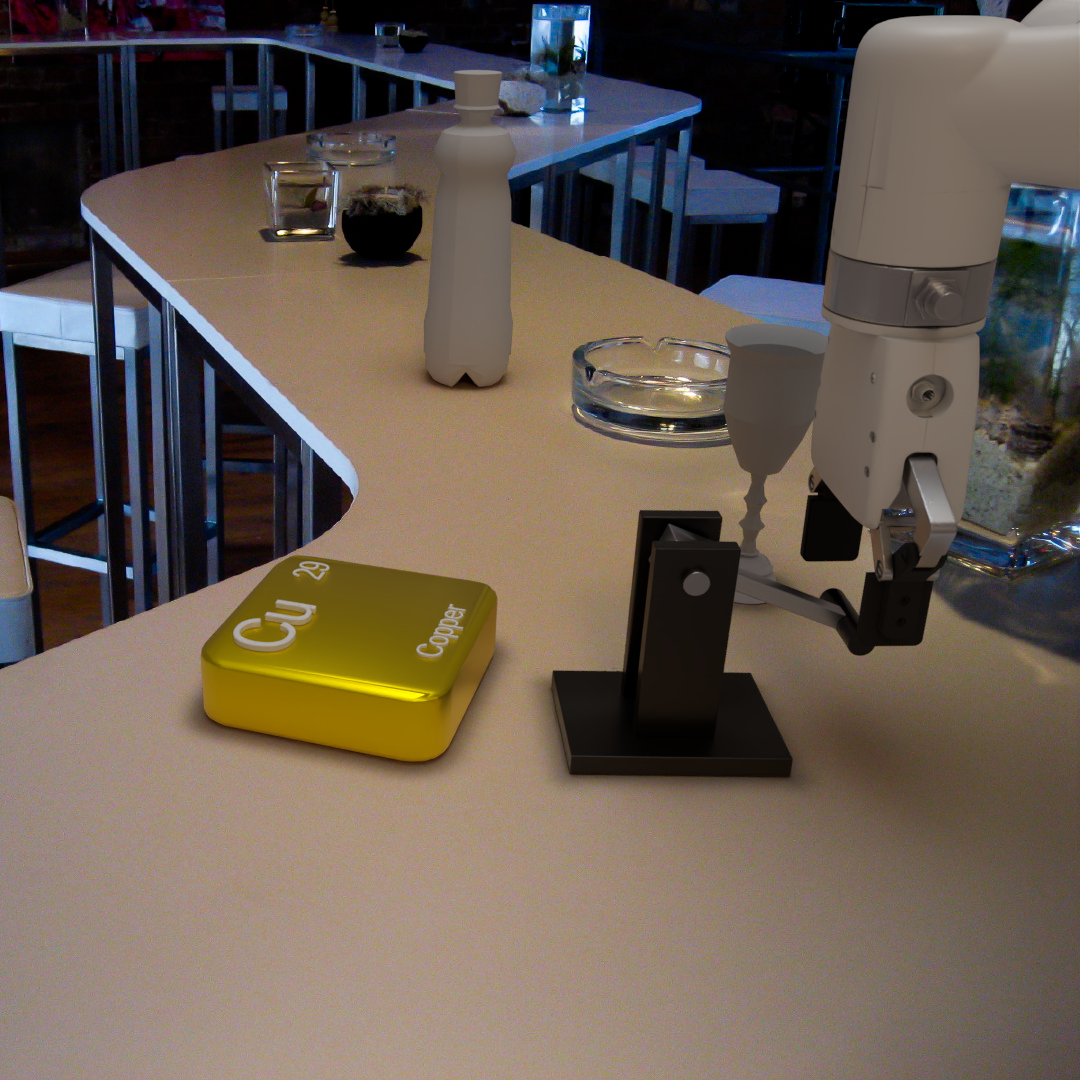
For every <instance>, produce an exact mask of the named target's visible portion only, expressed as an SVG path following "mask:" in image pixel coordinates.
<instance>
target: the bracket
mask: <svg viewBox="0 0 1080 1080" xmlns="http://www.w3.org/2000/svg"><path fill="white" fill-rule="evenodd" d="M668 524H671V525H674V526H676V527H679V528H681V529H684V530H686V531H689V532H692V533H694V534H697V535H699V536H702V537H704V538H707V539H710V540H712V541H659V540H660V538H661V536H662V534H663V532H664V531H665V529H666V527H667V525H668ZM722 526H723V516H722V514H721V512H720V511H719V510H687V509H686V510H685V509H684V510H683V509H682V510H680V509H679V510H675V509H673V510H670V509H666V510H665V509H640V510H638V519H637V530H636V539H635V548H634V558H633V565H632V566H633V569H632V577H631V586H630V588H631V589H630V596H629V605H628V606H629V607H628V616H627V625H626V636H625V643H624V644H625V645H624V655H623V665H622V670H566V669H565V670H561V669H559V670H557V669H556V670H552V674H551V691H552V695H553V700H554V704H555V710H556V715H557V719H558V724H559V728H560V734H561V738H562V743H563V747H564V751H565V757H566V762H567V766H568V770H569V774H571V775H630V776H631V775H633V776H635V775H637V776H643V775H644V776H701V777H702V776H707V777H708V776H712V777H713V776H714V777H780V778H781V777H783V778H784V777H785V778H786V777H791V774H792V768H793V764H794V763H793V762H794V758H793V756H792V753H791V752H790V750H789V748H788V746H787V743H786V742H785V740H784V738H783V736H782V734H781V732H780V729H779V728H778V726H777V723H776V721H775V719H774V717H773V715H772V713H771V711H770V709H769V707H768V705H767V704H766V701H765V698H764V697H763V694H762V692H761V691H760V689H759V687H758V685H757V683H756V681H755V679H754V676H753V674H752V673H751V672H738V671H737V672H735V671H734V672H730V671H728V672H727V671H725V665H726V659H727V652H728V646H729V638H730V631H731V624H732V617H733V609H734V604H735V602H734V597H735V590H736V583H737V576H738V569H739V562H740V555H741V549H740V545H739V543H738V542H737V541H726V540H725V541H724V540H723V541H720V540H721V533H722ZM650 556H651V560H650V562H649V557H650Z"/></svg>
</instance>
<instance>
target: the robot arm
mask: <svg viewBox="0 0 1080 1080" xmlns="http://www.w3.org/2000/svg"><path fill="white" fill-rule="evenodd" d="M847 106H848V107H847V114H846V115H847V116H846V122H845V129H844V137H843V138H844V139H843V146H842V153H841V162H840V169H839V177H838V182H837V183H838V184H837V191H836V200H835V204H834V205H835V206H834V213H833V220H832V227H831V235H830V243H829V244H830V246H829V250H828V259H827V264H826V273H825V279H824V280H825V281H824V289H823V295H822V297H823V298H822V302H821V309H820V310H821V311H820V315H821V317H822V319H825V321H826V322H828V323H830V326H829V331H828V335H827V336H828V340H827V345H826V350H825V355H824V360H823V365H822V370H821V375H820V381H819V387H818V392H817V399H816V405H815V412H814V419H813V421H812V429H811V430H812V431H811V444H810V454H811V455H810V457H811V462H812V464H813V467H812V469H811V471H810V473H809V474H808V478H807V479H808V480H807V487H808V491H809V493H810V494H807V498H806V505H805V513H804V520H803V528H802V534H801V535H802V536H801V542H800V549H799V554H800V557H801V558H802V559H803V561H804V562H808V563H809V562H810V563H811V562H813V563H817V562H853V561H855V560H857V559H858V558H859V554H860V548H861V541H862V536H863V530H864V528H866V529H869V535H870V542H871V551H872V560H873V568H874V569H873V570H874V571H865V576H864V583H863V589H862V594H861V601H860V608H859V612H858V615H859V619H858V625H857V631H856V638H857V640H858V641H859V643H860V644H861V645H862V646H875V647H916V646H918V645H920V644H921V643H922V642H923V639H924V635H925V630H926V625H927V619H928V613H929V608H930V603H931V599H932V598H931V597H932V593H933V587H934V582H936V581H938V580H939V577H940V574H941V569H942V568H943V567H944V566H945V563H946V561H947V560H948V557H949V554H948V551H949V549H950V547H951V545H952V543H953V542H954V540H955V538H956V537H957V534H958V533H957V532H958V524H959V523H960V522H961V520H962V516H963V512H964V508H965V501H966V495H967V489H968V484H969V477H970V471H971V462H972V456H973V447H974V441H975V440H974V439H975V434H976V433H975V431H976V424H977V423H976V422H977V416H978V415H977V414H978V403H979V402H978V401H979V390H980V363H981V362H980V361H981V359H980V358H981V357H980V355H981V354H980V336H979V335H978V334H977V333H978V332H980V331H982V330H983V329H984V327H985V325H986V321H987V319H986V318H987V313H988V311H989V303H990V298H991V294H992V287H993V283H994V277H995V274H996V273H995V272H996V267H997V261H998V255H999V250H1000V244H1001V241H1002V240H1001V239H1002V236H1003V235H1002V234H1003V229H1004V224H1005V218H1006V214H1007V209H1008V203H1009V199H1010V193H1011V189H1012V188H1011V187H1012V184H1014V183H1022V184H1032V185H1039V186H1040V185H1041V186H1047V187H1056V188H1063V189H1070V190H1076V191H1080V0H1042V1H1040V2H1039V3H1038V4H1037V5H1036V6H1035V7H1034V8H1033V9H1032V10H1030V12H1029V13H1028V14H1027V15H1025V17H1024V18H1023V19H1022V20H1021V21H1016V20H1014V19H1012V18H1005V17H1001V16H1000V17H999V16H993V15H992V16H991V15H990V16H989V15H961V14H960V15H959V14H958V15H919V16H904V17H898V18H891V19H887V20H885V21H882V22H879V23H877V24H875V25H874V26H872V27H871V28H870V29H868V30H867V32H866V33H865V34H864V35H863V37H862V39H861V41H860V43H859V44H858V47H857V49H856V54H855V58H854V64H853V69H852V76H851V83H850V91H849V100H848V105H847ZM904 509H905V510H912V513H913V514H907V515H905V514H904V515H903V514H902V515H901V514H899V515H898V514H897V515H896V514H895V515H886V513H885V510H904ZM893 533H894V534H895V533H898V534H900V533H913V534H912V537H913V540H912V541H911V542H904V543H903V544H902V545H901V546H900V547H899V548H898V549H897V550H895V551H894V552H893V546H892V538H891V534H893Z"/></svg>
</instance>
